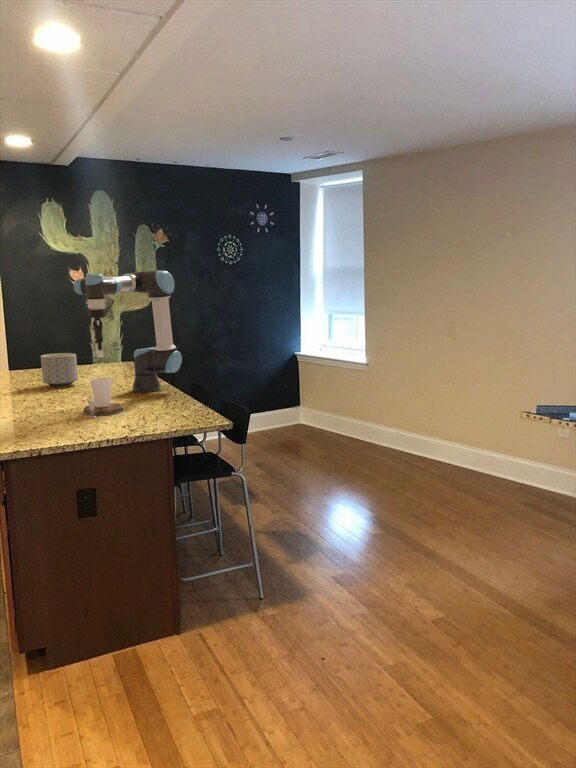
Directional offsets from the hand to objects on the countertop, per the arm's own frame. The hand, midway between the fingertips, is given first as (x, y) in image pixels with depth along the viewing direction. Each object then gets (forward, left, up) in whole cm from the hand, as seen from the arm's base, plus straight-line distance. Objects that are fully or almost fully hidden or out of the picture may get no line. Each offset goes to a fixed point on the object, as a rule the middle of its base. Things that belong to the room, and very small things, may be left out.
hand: (99, 355), depth 277 cm
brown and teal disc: (0, -2, -25) cm, 25 cm away
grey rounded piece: (+5, +11, -26) cm, 29 cm away
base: (0, 0, -26) cm, 26 cm away
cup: (0, 0, -24) cm, 24 cm away
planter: (+20, -82, -26) cm, 89 cm away
